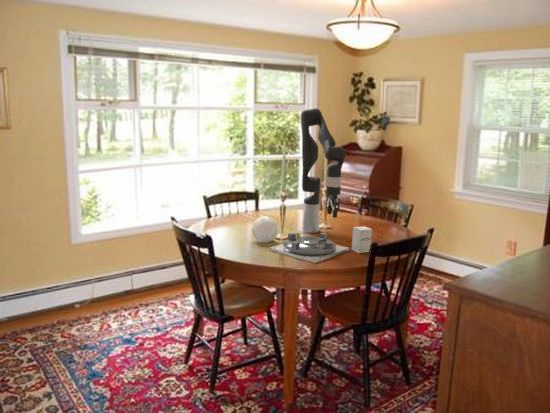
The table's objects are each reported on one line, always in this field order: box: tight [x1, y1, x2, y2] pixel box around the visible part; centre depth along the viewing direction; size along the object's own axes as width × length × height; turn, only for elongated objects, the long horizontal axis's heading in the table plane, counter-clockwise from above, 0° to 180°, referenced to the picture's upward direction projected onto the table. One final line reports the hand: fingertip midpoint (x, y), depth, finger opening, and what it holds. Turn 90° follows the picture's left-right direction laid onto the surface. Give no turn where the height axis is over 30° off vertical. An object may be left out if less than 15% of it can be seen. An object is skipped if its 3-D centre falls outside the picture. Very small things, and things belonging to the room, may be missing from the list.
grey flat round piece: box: [282, 232, 337, 255], centre depth 265 cm, size 28×28×5 cm
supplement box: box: [351, 225, 373, 254], centre depth 266 cm, size 7×7×13 cm
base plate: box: [268, 232, 350, 264], centre depth 265 cm, size 30×30×6 cm
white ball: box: [251, 215, 279, 244], centre depth 279 cm, size 14×15×15 cm
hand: (332, 215), depth 265 cm, fingers open, 8 cm apart
